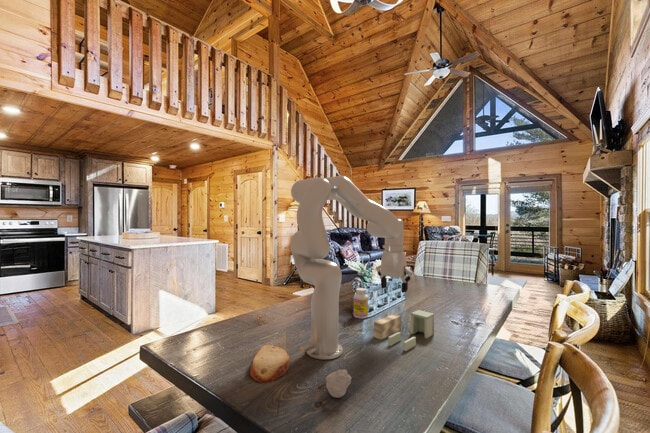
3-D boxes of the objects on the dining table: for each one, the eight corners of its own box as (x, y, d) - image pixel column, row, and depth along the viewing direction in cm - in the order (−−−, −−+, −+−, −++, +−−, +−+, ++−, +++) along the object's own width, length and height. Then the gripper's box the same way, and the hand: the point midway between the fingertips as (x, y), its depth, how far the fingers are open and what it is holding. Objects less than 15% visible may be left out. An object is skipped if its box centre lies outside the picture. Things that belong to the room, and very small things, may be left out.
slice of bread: (271, 348, 111) (271, 337, 110) (308, 364, 99) (308, 352, 99) (227, 367, 97) (227, 355, 97) (264, 388, 85) (264, 374, 85)
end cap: (426, 338, 119) (427, 317, 119) (410, 333, 124) (411, 313, 124) (433, 334, 124) (434, 313, 124) (418, 329, 128) (418, 309, 128)
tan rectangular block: (381, 339, 118) (381, 324, 118) (373, 337, 120) (374, 321, 120) (400, 330, 128) (401, 315, 128) (393, 328, 130) (393, 313, 130)
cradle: (405, 351, 108) (405, 342, 108) (388, 345, 113) (388, 336, 113) (415, 345, 113) (415, 337, 113) (398, 339, 118) (398, 331, 118)
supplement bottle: (351, 317, 143) (351, 289, 142) (356, 313, 148) (357, 286, 148) (365, 320, 139) (365, 291, 139) (370, 315, 145) (370, 288, 145)
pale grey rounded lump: (347, 406, 77) (347, 378, 77) (321, 399, 79) (321, 372, 79) (354, 393, 83) (354, 367, 82) (329, 387, 85) (329, 362, 85)
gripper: (371, 247, 131) (371, 287, 132) (408, 251, 119) (408, 295, 120) (381, 246, 137) (381, 284, 137) (417, 249, 125) (417, 291, 125)
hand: (393, 289), depth 128 cm, fingers open, 9 cm apart
